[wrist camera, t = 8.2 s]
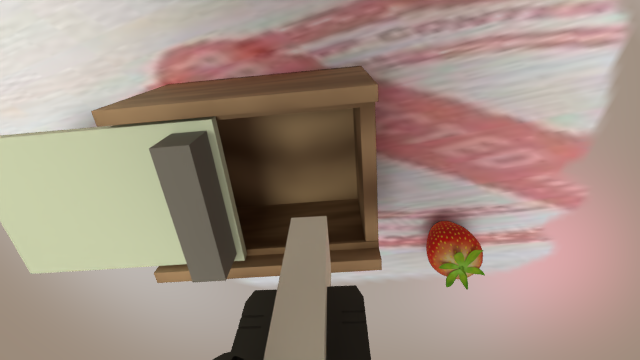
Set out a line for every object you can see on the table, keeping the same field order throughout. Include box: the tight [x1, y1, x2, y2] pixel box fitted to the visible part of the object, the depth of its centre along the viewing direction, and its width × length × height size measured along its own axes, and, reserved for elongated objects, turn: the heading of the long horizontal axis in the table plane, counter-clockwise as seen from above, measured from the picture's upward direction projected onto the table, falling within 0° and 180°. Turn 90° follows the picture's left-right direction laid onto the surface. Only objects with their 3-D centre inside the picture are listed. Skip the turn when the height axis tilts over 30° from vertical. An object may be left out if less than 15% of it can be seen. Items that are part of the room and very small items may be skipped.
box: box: [91, 66, 382, 283], centre depth 28 cm, size 14×18×11 cm
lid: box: [0, 116, 247, 282], centre depth 23 cm, size 11×18×4 cm, turn 95°
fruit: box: [426, 221, 485, 289], centre depth 33 cm, size 5×5×8 cm
